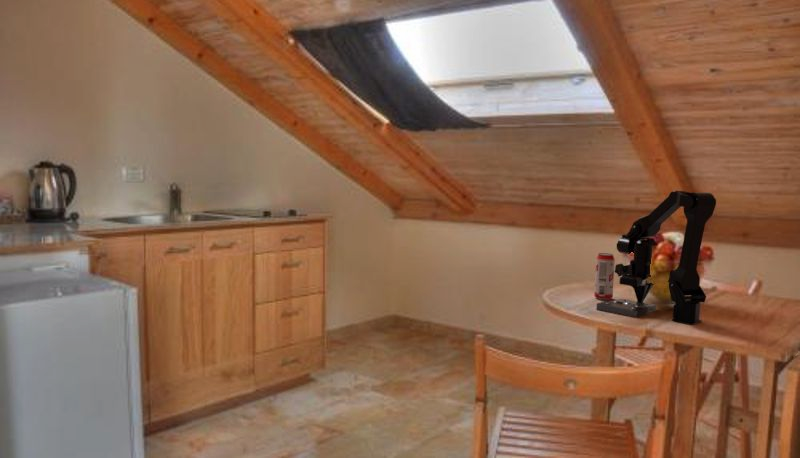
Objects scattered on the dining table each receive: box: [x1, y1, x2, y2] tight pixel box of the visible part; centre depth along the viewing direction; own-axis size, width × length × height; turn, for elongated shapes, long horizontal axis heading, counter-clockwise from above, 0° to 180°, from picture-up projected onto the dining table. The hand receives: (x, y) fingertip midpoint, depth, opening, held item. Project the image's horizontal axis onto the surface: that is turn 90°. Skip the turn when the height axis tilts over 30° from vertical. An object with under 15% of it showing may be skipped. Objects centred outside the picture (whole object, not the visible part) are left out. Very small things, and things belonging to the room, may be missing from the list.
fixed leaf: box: [596, 300, 647, 318], centre depth 206 cm, size 14×8×2 cm, turn 42°
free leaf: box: [614, 298, 657, 314], centre depth 210 cm, size 12×8×2 cm
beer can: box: [594, 252, 616, 301], centre depth 225 cm, size 6×6×16 cm
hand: (639, 303), depth 214 cm, fingers closed
